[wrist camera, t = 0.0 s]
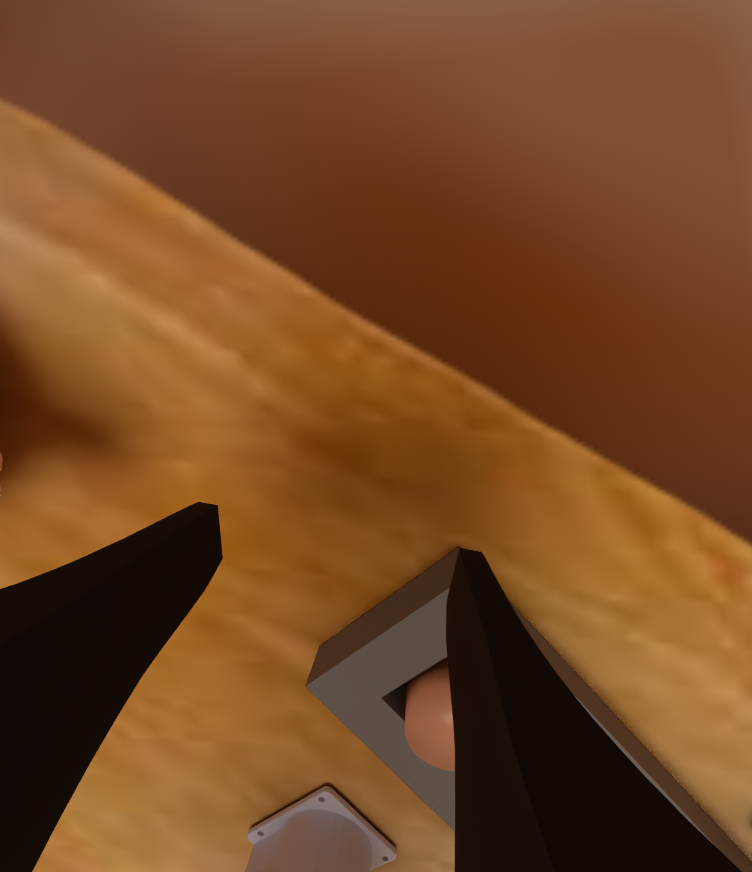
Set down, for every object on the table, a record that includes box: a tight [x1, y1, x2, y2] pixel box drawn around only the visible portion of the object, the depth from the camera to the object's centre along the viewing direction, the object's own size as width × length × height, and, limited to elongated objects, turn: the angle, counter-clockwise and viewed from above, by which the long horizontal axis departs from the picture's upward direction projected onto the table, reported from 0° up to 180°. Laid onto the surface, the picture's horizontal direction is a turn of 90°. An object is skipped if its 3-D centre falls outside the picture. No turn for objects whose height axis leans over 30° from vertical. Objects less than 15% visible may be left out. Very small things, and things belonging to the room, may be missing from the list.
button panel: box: [305, 547, 752, 872], centre depth 23 cm, size 12×32×3 cm, turn 43°
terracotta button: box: [405, 659, 455, 771], centre depth 21 cm, size 5×5×2 cm
